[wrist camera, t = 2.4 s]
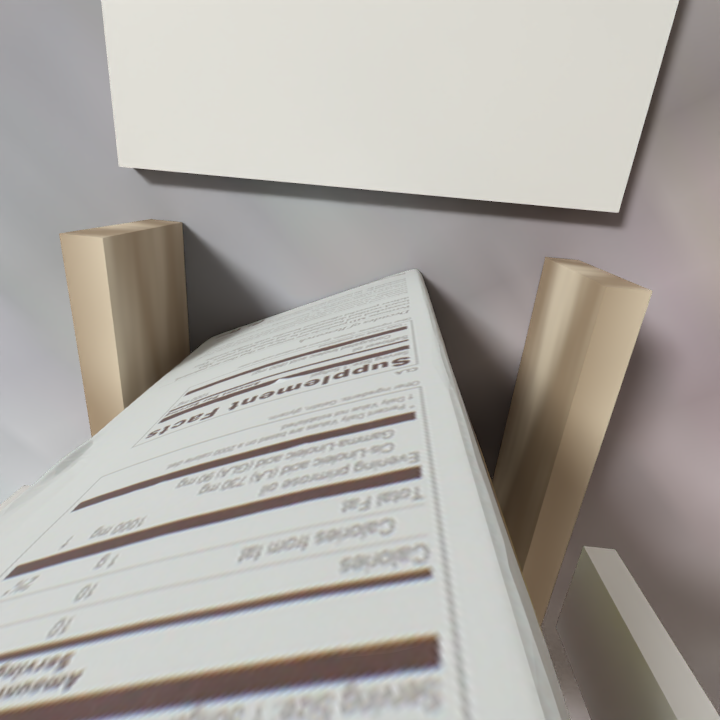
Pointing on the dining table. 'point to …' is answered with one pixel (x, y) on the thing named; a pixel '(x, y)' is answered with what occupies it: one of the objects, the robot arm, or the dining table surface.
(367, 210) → the dining table surface
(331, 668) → the supplement box
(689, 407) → the dining table surface
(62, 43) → the dining table surface
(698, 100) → the dining table surface
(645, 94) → the tile
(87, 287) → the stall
